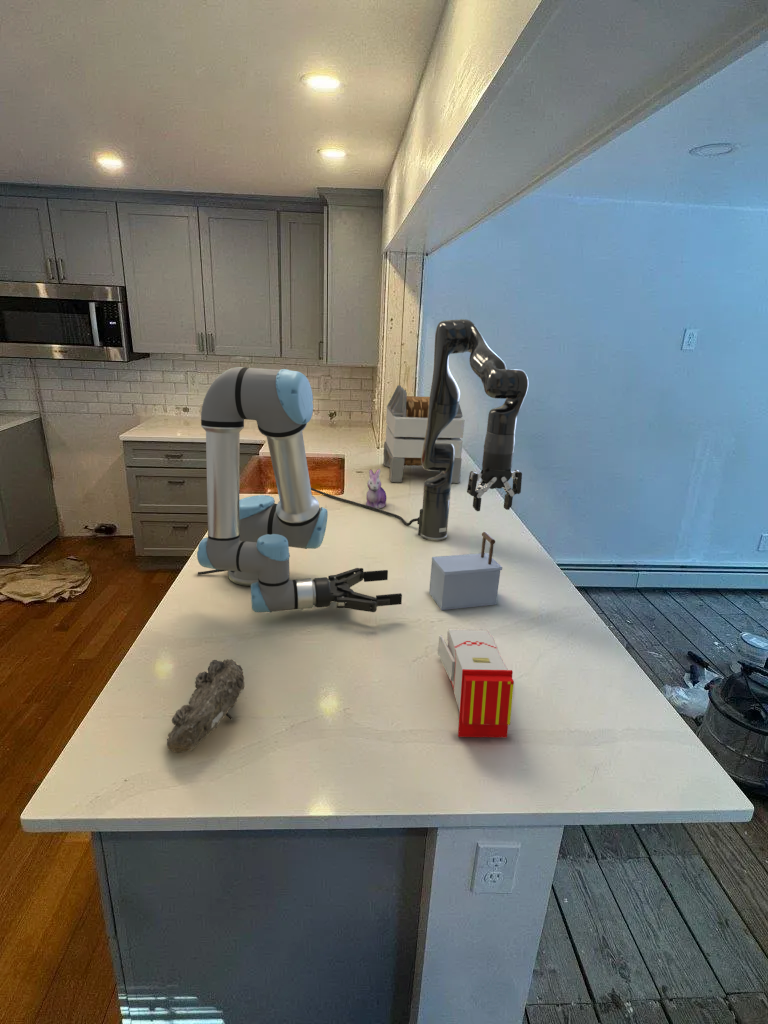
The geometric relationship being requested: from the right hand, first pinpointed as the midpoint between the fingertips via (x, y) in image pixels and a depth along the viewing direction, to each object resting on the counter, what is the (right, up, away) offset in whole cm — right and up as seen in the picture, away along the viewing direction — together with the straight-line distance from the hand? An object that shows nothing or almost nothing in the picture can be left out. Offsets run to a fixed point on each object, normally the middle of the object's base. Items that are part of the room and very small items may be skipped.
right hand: (491, 509), depth 150 cm
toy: (-11, -38, -31) cm, 50 cm away
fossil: (-61, -40, -42) cm, 84 cm away
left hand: (-26, -20, -1) cm, 33 cm away
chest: (-7, -25, +7) cm, 27 cm away
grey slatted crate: (-11, +18, +125) cm, 127 cm away
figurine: (-32, +2, +77) cm, 83 cm away
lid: (-6, -15, +4) cm, 17 cm away
